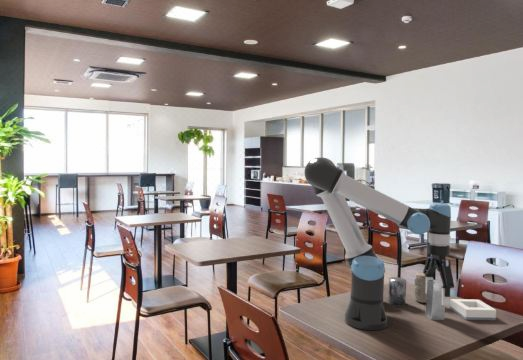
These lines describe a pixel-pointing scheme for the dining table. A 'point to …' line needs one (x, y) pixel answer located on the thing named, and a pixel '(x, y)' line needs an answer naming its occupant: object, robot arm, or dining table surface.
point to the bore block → (472, 309)
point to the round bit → (397, 291)
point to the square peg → (434, 300)
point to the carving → (420, 287)
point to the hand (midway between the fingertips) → (436, 299)
